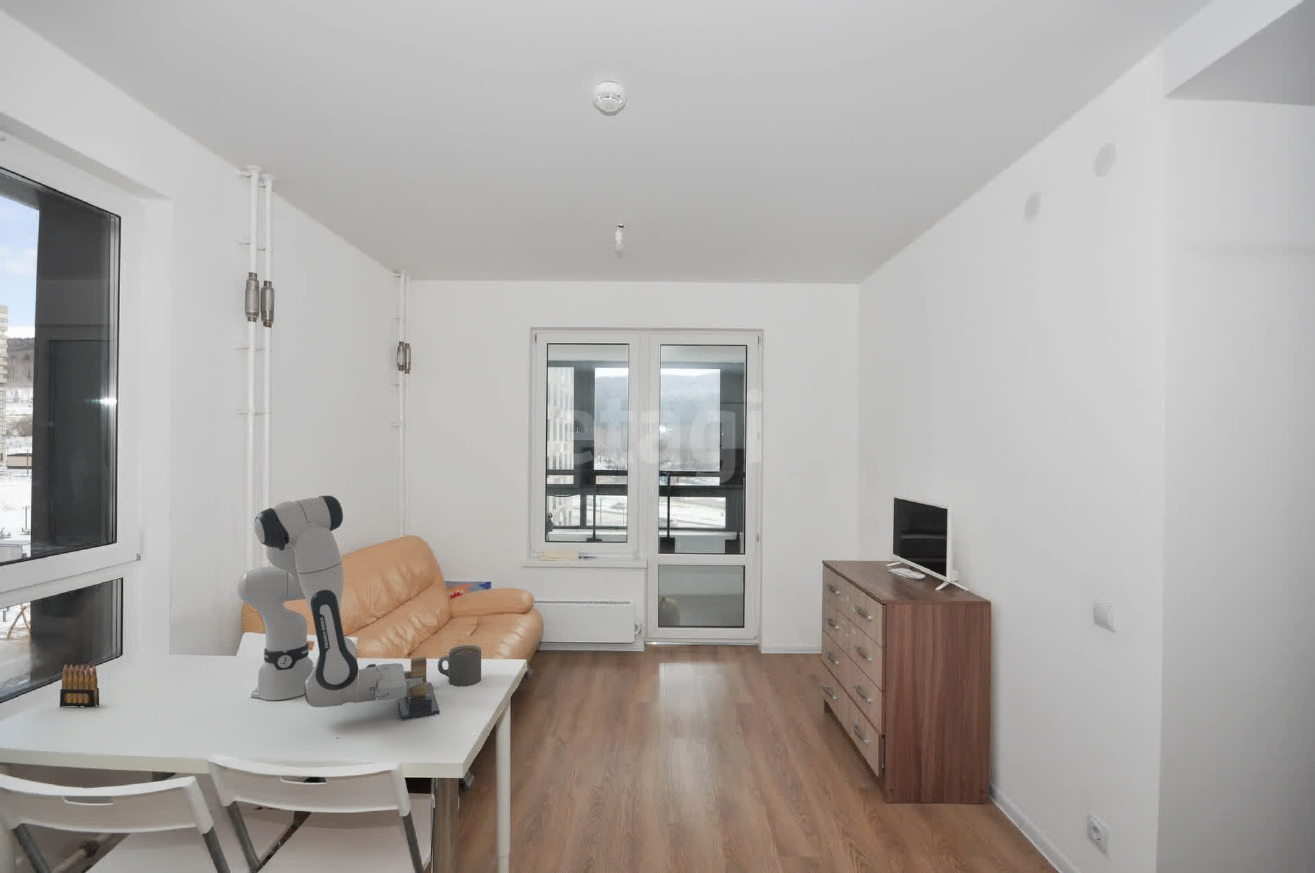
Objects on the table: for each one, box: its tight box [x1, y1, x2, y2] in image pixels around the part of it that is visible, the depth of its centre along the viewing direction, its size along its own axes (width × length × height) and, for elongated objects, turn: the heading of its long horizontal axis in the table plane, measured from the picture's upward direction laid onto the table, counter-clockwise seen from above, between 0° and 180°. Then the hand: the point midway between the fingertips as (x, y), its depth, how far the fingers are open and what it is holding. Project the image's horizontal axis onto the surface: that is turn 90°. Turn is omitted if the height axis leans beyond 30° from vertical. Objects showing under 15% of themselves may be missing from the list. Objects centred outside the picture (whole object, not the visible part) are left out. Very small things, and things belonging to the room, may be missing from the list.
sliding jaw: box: [406, 679, 428, 698], centre depth 202 cm, size 12×6×3 cm, turn 24°
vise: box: [397, 681, 441, 721], centre depth 196 cm, size 24×10×4 cm, turn 24°
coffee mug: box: [437, 644, 482, 688], centre depth 213 cm, size 13×10×10 cm
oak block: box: [410, 656, 427, 697], centre depth 192 cm, size 4×4×12 cm
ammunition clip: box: [59, 664, 100, 708], centre depth 193 cm, size 11×2×12 cm, turn 86°
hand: (421, 677), depth 192 cm, fingers closed on oak block, 3 cm apart
